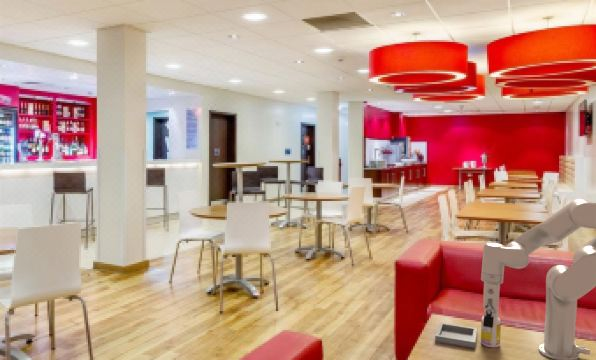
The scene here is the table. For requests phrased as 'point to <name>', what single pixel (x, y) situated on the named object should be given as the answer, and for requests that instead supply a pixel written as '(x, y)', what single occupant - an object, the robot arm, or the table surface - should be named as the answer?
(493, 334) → the supplement bottle
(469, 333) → the tray
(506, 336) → the table surface
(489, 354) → the table surface
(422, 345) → the table surface
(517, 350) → the table surface
